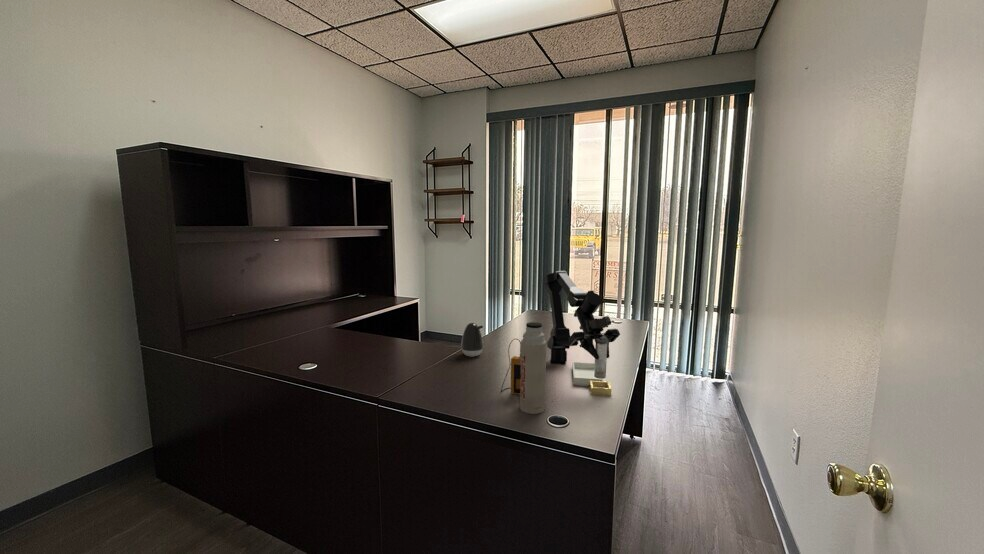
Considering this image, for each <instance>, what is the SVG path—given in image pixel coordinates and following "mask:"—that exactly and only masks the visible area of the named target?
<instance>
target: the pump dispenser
mask: <svg viewBox="0 0 984 554" xmlns="http://www.w3.org/2000/svg"><path fill="white" fill-rule="evenodd" d="M483 328H484V325H479V326H478V325H477V323H474V322H469V323H468V324H467V325H466V327H465V328H464V331H463V334H462V337H461V343H460V349H461V351H462V353H463V354H464V355H465V356H467V357H468V356H469V357H470V358H475V356H476V357H477V356H479V355H481V354H482V352H483V349H484V342H483V337H482V333H481V329H483Z"/></svg>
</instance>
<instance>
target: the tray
mask: <svg viewBox="0 0 984 554" xmlns="http://www.w3.org/2000/svg"><path fill="white" fill-rule="evenodd" d="M571 363H572V367H571V369H572V381H573V386H579V387H590V381H603V379H599V378H596V377H594V368H595V362H586V361H585V362H583V361H581V362H580V361H572V362H571Z"/></svg>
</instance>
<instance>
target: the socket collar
mask: <svg viewBox="0 0 984 554" xmlns="http://www.w3.org/2000/svg"><path fill="white" fill-rule="evenodd" d="M589 391H590V395H591V396H594V395H595V396H606V397H607V396H608V397H610V396H612V386H611V384H610V381H606V380H605V381H603V380H602V381H590V386H589Z"/></svg>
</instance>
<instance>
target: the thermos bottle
mask: <svg viewBox="0 0 984 554" xmlns="http://www.w3.org/2000/svg"><path fill="white" fill-rule="evenodd" d="M525 325H526V328H525V332H523V334H522V339H521V340H520V342H521V380H520V395H519V409H520V410H521V411H522V412H523V413H525V414H529V415H530V414H531V415H536V414H541V413H543V412H544V411H545V409H546V373H547V372H546V370H547V369H546V368H547V367H546V364H547V340H546V339H545V333H543V332H542V326H543V323H540V322H534V321H532V322H527V323H526V324H525Z"/></svg>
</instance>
